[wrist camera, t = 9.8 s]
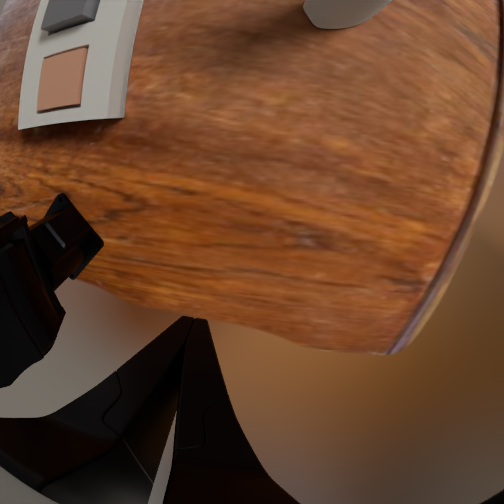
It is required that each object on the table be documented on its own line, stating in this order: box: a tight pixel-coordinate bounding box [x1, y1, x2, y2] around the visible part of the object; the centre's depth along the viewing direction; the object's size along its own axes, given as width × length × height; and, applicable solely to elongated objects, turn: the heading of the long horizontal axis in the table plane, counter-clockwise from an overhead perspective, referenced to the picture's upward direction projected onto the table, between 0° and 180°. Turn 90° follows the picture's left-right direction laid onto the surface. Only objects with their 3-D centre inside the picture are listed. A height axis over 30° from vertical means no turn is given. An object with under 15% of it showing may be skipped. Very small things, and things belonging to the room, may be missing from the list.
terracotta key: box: [37, 48, 88, 111], centre depth 14 cm, size 4×4×2 cm
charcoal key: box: [41, 0, 100, 33], centre depth 10 cm, size 4×4×2 cm
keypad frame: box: [18, 0, 144, 130], centre depth 12 cm, size 21×10×3 cm, turn 173°
